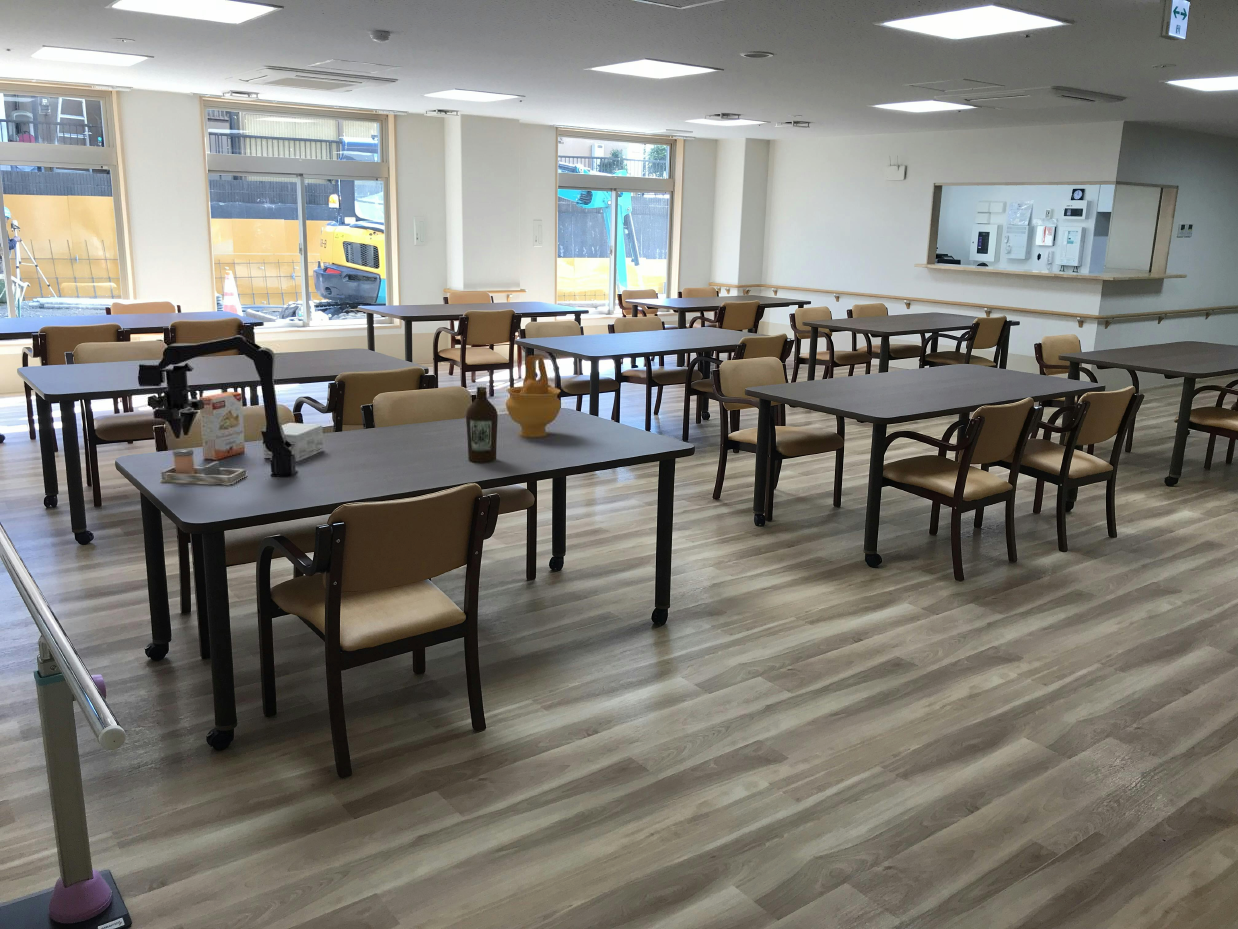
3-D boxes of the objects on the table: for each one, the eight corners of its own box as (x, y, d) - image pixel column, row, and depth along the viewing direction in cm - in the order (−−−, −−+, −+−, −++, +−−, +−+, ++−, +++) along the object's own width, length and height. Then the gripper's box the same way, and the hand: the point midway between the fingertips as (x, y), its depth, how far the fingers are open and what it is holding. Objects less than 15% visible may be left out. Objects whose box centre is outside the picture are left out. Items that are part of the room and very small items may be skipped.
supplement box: (290, 448, 345) (288, 422, 343) (324, 451, 342) (322, 424, 340) (262, 459, 329) (260, 431, 327) (298, 461, 326) (296, 434, 324)
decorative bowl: (494, 434, 374) (493, 356, 367) (529, 426, 391) (530, 351, 383) (537, 442, 362) (537, 361, 355) (572, 433, 379) (572, 356, 372)
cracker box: (217, 461, 324) (212, 398, 319) (202, 459, 326) (197, 397, 321) (246, 452, 337) (242, 392, 332) (232, 450, 339) (228, 390, 334)
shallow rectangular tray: (247, 476, 306) (246, 466, 305) (230, 485, 295) (229, 475, 295) (180, 472, 308) (179, 463, 307) (160, 481, 298) (159, 472, 297)
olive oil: (468, 456, 339) (467, 384, 333) (499, 456, 339) (498, 384, 333) (464, 463, 328) (463, 389, 322) (496, 463, 329) (496, 390, 323)
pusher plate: (219, 474, 305) (218, 461, 304) (208, 479, 298) (207, 466, 297) (216, 474, 305) (215, 461, 304) (204, 479, 298) (203, 466, 297)
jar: (199, 474, 305) (196, 449, 303) (189, 478, 299) (186, 453, 297) (181, 473, 305) (179, 448, 303) (171, 477, 300) (168, 452, 298)
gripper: (169, 380, 305) (173, 429, 309) (134, 390, 287) (139, 442, 291) (203, 381, 304) (207, 431, 308) (170, 391, 286) (174, 443, 290)
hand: (181, 436), depth 299 cm, fingers open, 4 cm apart
